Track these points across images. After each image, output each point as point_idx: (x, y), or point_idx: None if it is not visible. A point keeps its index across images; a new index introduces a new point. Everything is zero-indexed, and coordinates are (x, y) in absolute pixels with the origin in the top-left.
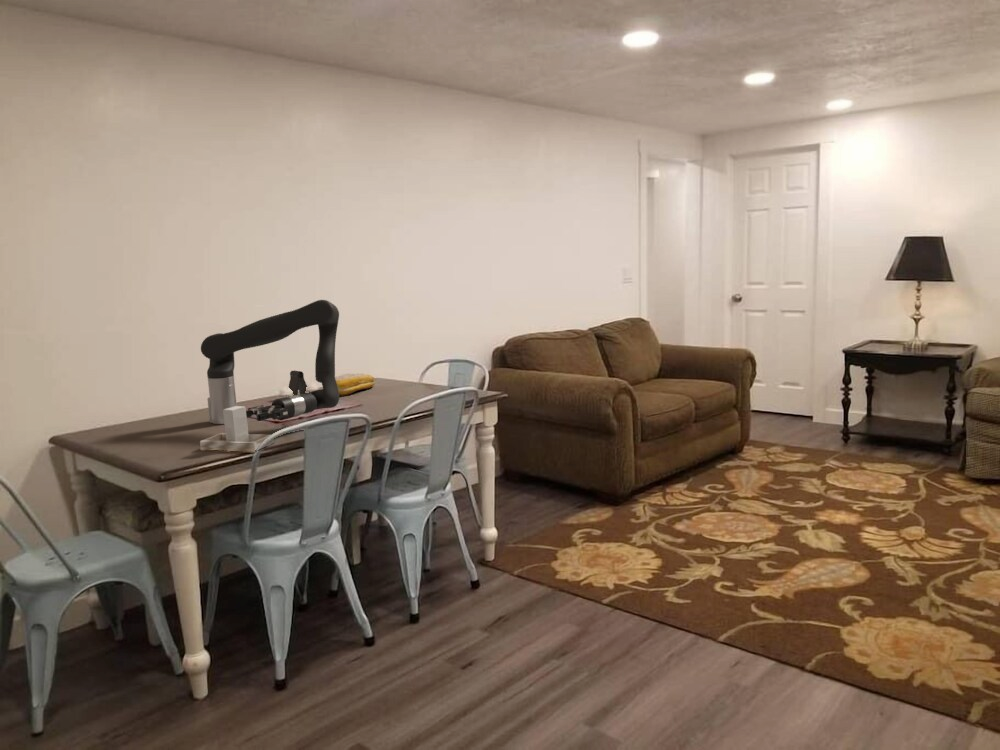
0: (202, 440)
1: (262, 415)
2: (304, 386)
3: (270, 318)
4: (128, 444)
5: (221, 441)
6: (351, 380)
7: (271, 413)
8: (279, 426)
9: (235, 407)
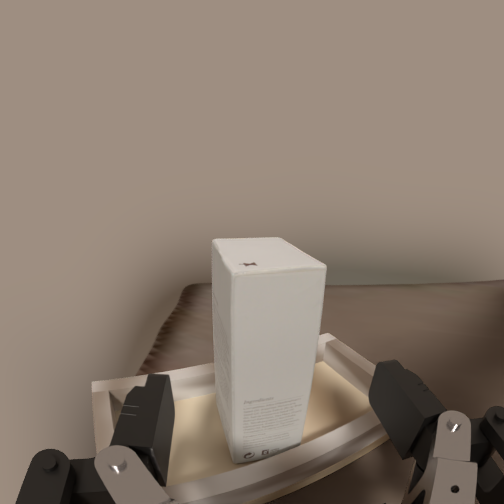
0: (332, 338)
1: (125, 399)
2: None
3: None
4: (483, 303)
5: None
6: None
7: (91, 473)
8: None
9: (268, 253)
